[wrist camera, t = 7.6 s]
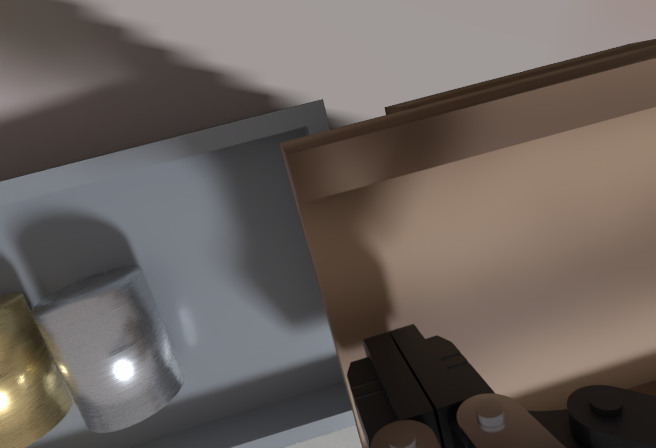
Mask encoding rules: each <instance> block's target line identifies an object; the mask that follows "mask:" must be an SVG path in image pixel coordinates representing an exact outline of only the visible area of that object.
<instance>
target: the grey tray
mask: <svg viewBox="0 0 656 448" xmlns="http://www.w3.org/2000/svg"><path fill="white" fill-rule="evenodd" d="M327 130H330V127H329V123H328V119H327V115H326V110H325V106H324V102H323V99H322V100H318V101H314V102H310V103H306V104H302V105H298V106H294V107H290V108H286V109H282V110H278V111H275V112H271V113H267V114H263V115H259V116H255V117H251V118H247V119H243V120H239V121H235V122H231V123H228V124H224V125H220V126H216V127H212V128H208V129H204V130H200V131H196V132H192V133H188V134H184V135H181V136H177V137H173V138H169V139H165V140H161V141H157V142H153V143H149V144H145V145H141V146H137V147H134V148H130V149H126V150H122V151H118V152H114V153H110V154H106V155H102V156H98V157H94V158H90V159H86V160H83V161H79V162H75V163H71V164H67V165H63V166H59V167H55V168H51V169H47V170H43V171H39V172H36V173H32V174H28V175H24V176H20V177H16V178H12V179H8V180H4V181H0V295H4V294H9V293H22V294H23V296H24V298H25V300H26V302H27V304H28V307H29V309H30V311H31V310H32V309H33V307H34V306H35V305H36V304H38V303H39V302H40V301H42V300H43V299H45V298H46V297H48V296H49V295H51V294H53V293H55V292H57V291H58V290H60V289H62V288H64V287H67V286H69V285H71V284H73V283H75V282H78V281H80V280H83V279H85V278H88V277H91V276H93V275H96V274H99V273H102V272H106V271H109V270H113V269H117V268H122V267H128V266H138V267H141V268H142V270H143V273H144V275H145V278H146V280H147V283H148V285H149V288H150V290H151V293H152V295H153V298H154V300H155V303H156V305H157V308H158V310H159V313H160V315H161V318H162V320H163V322H164V325H165V327H166V330H167V332H168V335H169V337H170V340H171V342H172V345H173V347H174V350H175V352H176V355H177V357H178V360H179V362H180V365H181V367H182V370H183V372H184V375H185V380H184V384H183V386H182V388H181V389H180V391H179V392H178V394H177V395H176V396H175V397H174V398H173V399H172V400H171V401H170V402H169V403H168V404H167V405H165V406H164V407H163V408H162V409H160V410H159V411H158V412H156V413H155V414H153V415H152V416H150V417H148V418H146V419H145V420H143V421H141V422H139V423H137V424H134V425H132V426H130V427H127V428H124V429H121V430H117V431H113V432H107V433H97V432H93V431H91V430H89V429H88V428H87V426H86V425H85V423H84V420H83V418H82V416H81V414H80V412H79V410H78V408H77V406H76V404H75V402H74V400H73V398H72V396H71V398H72V401H73V403H72V406H71V409H70V410H69V412H68V413H67V415H66V416H65V417H64V418H63V419H62V421H61V422H60V423H59V424H57V425H56V426H55V427H54V428H53V429H52V430H51V431H49V432H48V433H47V434H46V435H44V436H43V437H41V438H40V439H39V440H37V441H36V442H34V443H32V444H31V445H29V446H28V447H26V448H284V447H287V446H290V445H293V444H296V443H300V442H303V441H306V440H309V439H312V438H316V437H319V436H322V435H325V434H328V433H332V432H335V431H338V430H341V429H344V428H348V427H351V426H354V425H356V423H355V419H354V415H353V412H352V408H351V404H350V401H349V397H348V393H347V390H346V386H345V382H344V379H343V375H342V371H341V368H340V364H339V360H338V357H337V353H336V349H335V345H334V342H333V338H332V334H331V331H330V327H329V323H328V320H327V316H326V312H325V309H324V305H323V301H322V298H321V294H320V290H319V287H318V283H317V279H316V276H315V272H314V268H313V264H312V261H311V257H310V253H309V250H308V246H307V242H306V239H305V235H304V231H303V228H302V224H301V220H300V217H299V213H298V209H297V206H296V202H295V198H294V194H293V191H292V187H291V183H290V180H289V176H288V172H287V169H286V165H285V161H284V158H283V154H282V150H281V147H280V143H281V142H285V141H289V140H293V139H297V138H301V137H304V136H308V135H312V134H316V133H320V132H324V131H327ZM54 362H55V361H54ZM55 364H56V363H55ZM56 366H57V365H56ZM57 368H58V367H57ZM58 370H59V369H58ZM59 372H60V371H59ZM60 374H61V373H60ZM61 376H62V375H61ZM62 378H63V377H62ZM63 381H64V380H63ZM64 383H65V382H64ZM65 385H66V384H65ZM66 387H67V386H66ZM67 389H68V388H67ZM68 391H69V390H68ZM69 393H70V392H69ZM70 395H71V394H70Z"/></svg>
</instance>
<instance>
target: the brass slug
mask: <svg viewBox="0 0 656 448" xmlns="http://www.w3.org/2000/svg"><path fill="white" fill-rule="evenodd" d="M72 403H73V401H72V398H71V395H70V393H69V391H68V389H67V387H66V385H65V383H64V381H63V378H62V376H61V374H60V372H59V370H58V368H57V366H56V364H55V362H54V359H53V357H52V355H51V353H50V351H49V349H48V347H47V345H46V343H45V341H44V339H43V337H42V335H41V332H40V330H39V328H38V326H37V324H36V322H35V320H34V318H33V316H32V314H31V311H30V309H29V307H28V304H27V302H26V300H25V298H24V296H23V294H22V293H9V294H4V295H0V448H26V447H28V446H29V445H31V444H32V443H34V442H36V441H37V440H39V439H40V438H41V437H43V436H44V435H46V434H47V433H48V432H49V431H51V430H52V429H53V428H54V427H55V426H56V425H57V424H59V423H60V422H61V421H62V419H63V418H64V417H65V416H66V415H67V413H68V412H69V410H70V409H71V406H72Z"/></svg>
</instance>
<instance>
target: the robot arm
mask: <svg viewBox="0 0 656 448" xmlns="http://www.w3.org/2000/svg"><path fill="white" fill-rule="evenodd" d="M363 345H364V349H365V353H366V356H367V357H366V358H363V359H359V360H356V361H353V362H350V366H349V369H348V373H347V378H348V381H349V385H350V389H351V392H352V396H353V399H354V403H355V407H356V410H357V414H358V418H359V421H360V424H361V427H362V430H363V434H364V436H365V440H366V443H367V446H368V448H656V396H653V395H648V394H644V393H640V392H635V391H631V390H627V389H622V388H618V387H614V386H608V385H590V386H585V387H582V388H579V389H577V390H575V391H574V392H573V393H571V394H570V396H569V397H568V400H567V410H552V411H528V410H525V409H524V408H523V407H522V406H521V405H520V404H519V403H518V402H517V401H515V400H514V399H512V398H510V397H507V396H504V395H501V394H496V393H495V392H494V391H493V390H492V389H491V388H490V386H489V385H488V384H487V383H486V382H485V380H484V379H483V378H482V377H481V376H480V375H479V373H478V372H477V371H476V370H475V369H474V367H473V366H472V365H471V364H469V362H468V360H467V359H466V358H465V357H464V356H463V355H462V354H461V352H460V351H459V350H458V349H457V347H456V346H455V345H454V344H453V343H452V342H451V341H449V340H446V339H444V338H442V337H440V336H438V335H436V336H433V337H430V338H427V339H425V338H424V337H423V335H422V334H421V333H420V331H419V330H418V329H417V327H416V326H415V325H414V324H411V325H408V326H404V327H401V328H398V329H395V330H391V331H389V333H388V332H385V333H382V334H379V335H375V336H372V337H369V338H366V339H363Z"/></svg>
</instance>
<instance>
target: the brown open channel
mask: <svg viewBox="0 0 656 448" xmlns="http://www.w3.org/2000/svg"><path fill="white" fill-rule="evenodd" d="M385 112H386V115H385V116H381V117H377V118H373V119H370V120H366V121H362V122H358V123H354V124H350V125H347V126H343V127H339V128H335V129H331V130H327V131H324V132H320V133H316V134H312V135H308V136H304V137H301V138H297V139H293V140H289V141H285V142H281V143H280V147H281V150H282V154H283V158H284V161H285V165H286V169H287V172H288V176H289V180H290V183H291V187H292V191H293V194H294V198H295V202H296V206H297V209H298V213H299V217H300V220H301V224H302V228H303V231H304V235H305V239H306V242H307V246H308V250H309V253H310V257H311V261H312V264H313V268H314V272H315V276H316V279H317V283H318V287H319V290H320V294H321V298H322V301H323V305H324V309H325V312H326V316H327V320H328V323H329V327H330V331H331V334H332V338H333V342H334V345H335V349H336V353H337V357H338V360H339V364H340V368H341V371H342V375H343V379H344V382H345V386H346V390H347V393H348V397H349V401H350V404H351V408H352V412H353V415H354V419H355V423H356V426H357V430H358V434H359V438H360V441H361V444H362V448H368V446H367V443H366V440H365V436H364V434H363V430H362V427H361V424H360V421H359V418H358V414H357V410H356V407H355V403H354V399H353V396H352V392H351V389H350V385H349V381H348V378H347V373H348V369H349V366H350V362H353V361H356V360H359V359H363V358H366V357H367V356H366V353H365V349H364V345H363V339H366V338H369V337H372V336H375V335H379V334H382V333H385V332H388V333H389V331H391V330H395V329H398V328H401V327H404V326H408V325H411V324H414V325H415V326H416V327H417V329H418V330H419V331H420V333H421V334H422V335H423V337H424V338H425V339H427V338H430V337H433V336H436V335H438V336H440V337H442V338H444V339H446V340H449V341H451V342H452V343H453V344H454V345H455V346H456V347H457V349H458V350H459V351H460V352H461V354H462V355H463V356H464V357H465V358H466V359H467V360H468V362H469V364H471V365H472V366H473V367H474V369H475V370H476V371H477V372H478V373H479V375H480V376H481V377H482V378H483V379H484V380H485V382H486V383H487V384H488V385H489V386H490V388H491V389H492V390H493V391H494V392H495V393H496V394H501V395H504V396H507V397H510V398H512V399H514V400H515V401H517V402H518V403H519V404H520V405H521V406H522V407H523V408H524V409H525V410H528V411H552V410H567V400H568V397H569V396H570V394H571V393H573V392H574V391H575V390H577V389H579V388H582V387H585V386H590V385H608V386H614V387H618V388H622V389H627V390H631V391H635V392H640V393H644V394H648V395H653V396H656V39H653V40H647V41H642V42H637V43H632V44H627V45H624V46H620V47H616V48H612V49H608V50H605V51H600V52H597V53H593V54H589V55H585V56H581V57H577V58H574V59H570V60H566V61H562V62H558V63H554V64H550V65H546V66H543V67H539V68H535V69H531V70H527V71H523V72H520V73H516V74H512V75H508V76H504V77H500V78H497V79H493V80H489V81H485V82H481V83H477V84H473V85H470V86H466V87H462V88H458V89H454V90H450V91H446V92H443V93H439V94H435V95H431V96H427V97H423V98H420V99H416V100H412V101H408V102H404V103H400V104H397V105H392V106H389V107H385Z"/></svg>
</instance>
